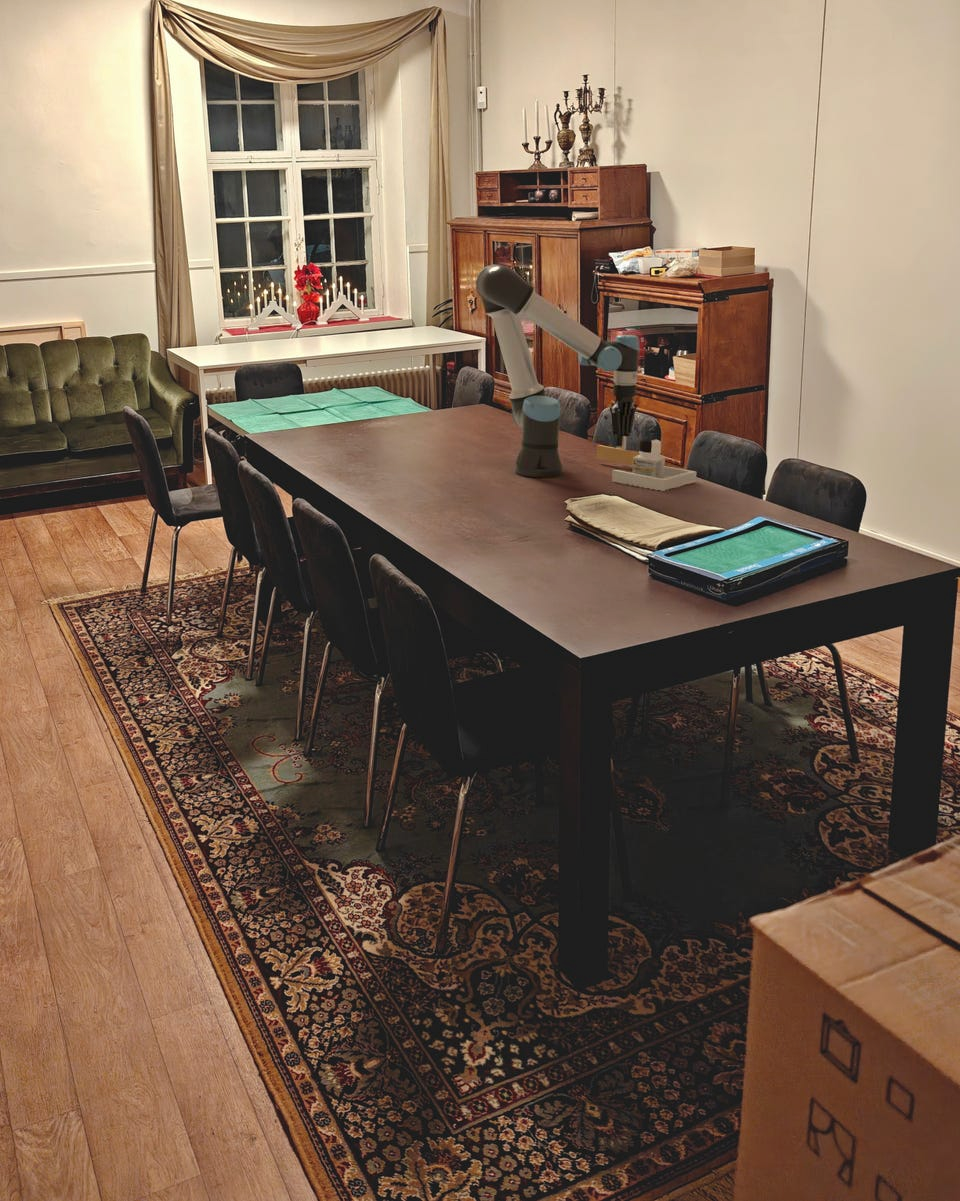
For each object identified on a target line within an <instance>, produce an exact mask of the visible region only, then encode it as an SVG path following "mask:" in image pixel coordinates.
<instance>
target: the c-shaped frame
mask: <svg viewBox="0 0 960 1201" xmlns="http://www.w3.org/2000/svg"><path fill="white" fill-rule="evenodd" d="M680 473H682V474H680ZM697 473H698V472H697V471H695V470H688V469H684V468H678V467H674V466H668V465H665V466H664V475H665V476H671V477H667V478H663V479H661V478H656V477H651V476H646V475H640V474H635V473H632V472H629V471H624V470H619V469H618V470H617V469H612V473H611V475H612V476H611V482H614V483H617V484H623V485H627V484H628V485H627V486H632V485H633V487H637V486H639V487H638V488H642V487H644V488H643V489H647V488H650V489H649V490H652V489H655V490H654V491H657V490H661V491H660V492H662V491H664V490H666V489H669V488H672V487H674V486H677V485H680V484H683V483H686V482H688V481H691V480H694V478H696V479H697ZM664 492H665V491H664Z"/></svg>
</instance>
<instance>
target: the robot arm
mask: <svg viewBox="0 0 960 1201" xmlns="http://www.w3.org/2000/svg"><path fill="white" fill-rule="evenodd" d="M475 288H476V292H477V294H478V296H479V297H480V299H481V304H482V306H483V309H484V313H485V315H487V316H489V317H490V318H491V320H492V323H493V326H494V331H495V334H496V338H497V340H498V341H497V342H498V345H499V348H500V352H501V355H502V359H503V363H504V367H505V370H506V373H507V377H508V381H509V383H510V384H509V385H510V387H511V392H510V394H509V396H508V399H509V402H510V405H511V417H512V419H513V421H514V423H515V425H516V426H518V428H520V429H521V445H520V447H521V448H520V451H519V453H518V455H517V459H516V462H515V464H514V472H515V474H516V475H521V476H523V477H524V476H525V477H532V478H554V477H559V476H561V475H563V464H562V460H561V457H560V456H561V455H560V451H559V440H560V424H561V413H562V412H561V404H560V401H559V400H558V399H556V398H554V397H550V396H547V394H546V390H545V386H544V385H542V384H541V383H539V382H538V379H537V375H536V371H535V368H534V364H533V360H532V357H531V353H530V348H529V345H528V342H527V338H526V334H525V330H524V326H523V324H522V320H521V316H520V315H522V316H523V317H525V318H526V319H527V320H529V321H531V322H532V323H534V324H535V325H537V326H538V327H539V328H540V329H543V331H545V332H547V333H548V334H550V335H551V336H552V337H554V338H555V339H557V340H559V341H560V342H561V343H563V344H565V345H566V346H567V347H569V348H570V349H571V350H573V351H574V352H576V353H577V357H578V362H579V364H580V365H581V366H587V367H590V366H594V367H596V368H599V369H601V370H602V371H604V372H613V383H614V384H613V389H612V395H613V396H614V398H615V399H614V405H613V406H610V407H609V411H610V414H611V416H610V417H611V425H612V435H613V436H615V437H616V448H619V449H625V450H627V439H628V437H630V436H631V433H632V430H633V425H634V420H635V414H636V411H637V408H638V404H637V403H635V402H634V398H635V397H636V396H637V385H636V384H637V382H638V368H639V366H638V365H639V357H640V356H639V355H640V354H639V353H640V338H639V337H638V336H637V335H634V334H618V335H617V336H616V338H615V340H614V341H606V340H604V339H602V338H600V337H599V336H598V335H597V334H595V333H594V332H593V331H591V330H589V328H587V327H585V326H584V325H583V324H581V323H580V322H578V321H576V320H575V319H573V317H571V316H569V315H568V314H567V313H565V312H564V311H562V310H561V309H560V308H558V307H557V306H555V305H554V304H552V303H551V302H549V301H548V300H547V299H545V298H544V297H543V296H541V295H540V294H538V293H536V288H535V287H534V286H532V285H531V284H530V283H529V282H527V281H526V280H525V279H524V278H523V277H522V276H520V275H519V273H517V271H515V270H514V269H512V268H511V267H509V266H506V265H503V264H499V263H494V264H490V265H487V266H485V267H483V269H482V270H480V272H479V273H478V275H477V277H476V283H475Z"/></svg>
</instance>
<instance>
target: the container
mask: <svg viewBox="0 0 960 1201" xmlns="http://www.w3.org/2000/svg"><path fill="white" fill-rule="evenodd" d="M661 451H662V441H660V440H658V439H656V438H642V439H641V440H639V451H638V452H639V453H640V455H638V456H635V457H634V458H633V466H632V471H631V473H635V474H640V475H646V476H651V477H656V478H661V479H663V478H664V466H666V465H665V463H666V456H664V455H661Z"/></svg>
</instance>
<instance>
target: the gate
mask: <svg viewBox="0 0 960 1201" xmlns="http://www.w3.org/2000/svg"><path fill="white" fill-rule="evenodd" d="M638 455H640V453H639V451H637V450H636V451H635V450H629V449H626V450H625V449H619V448H617V447H612V446H607V445H602V444H597V447H596V460H601V461H607V462H611V463H617V464H622V465H628V466H632V467H633V458H634V457H635V456H638Z"/></svg>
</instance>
